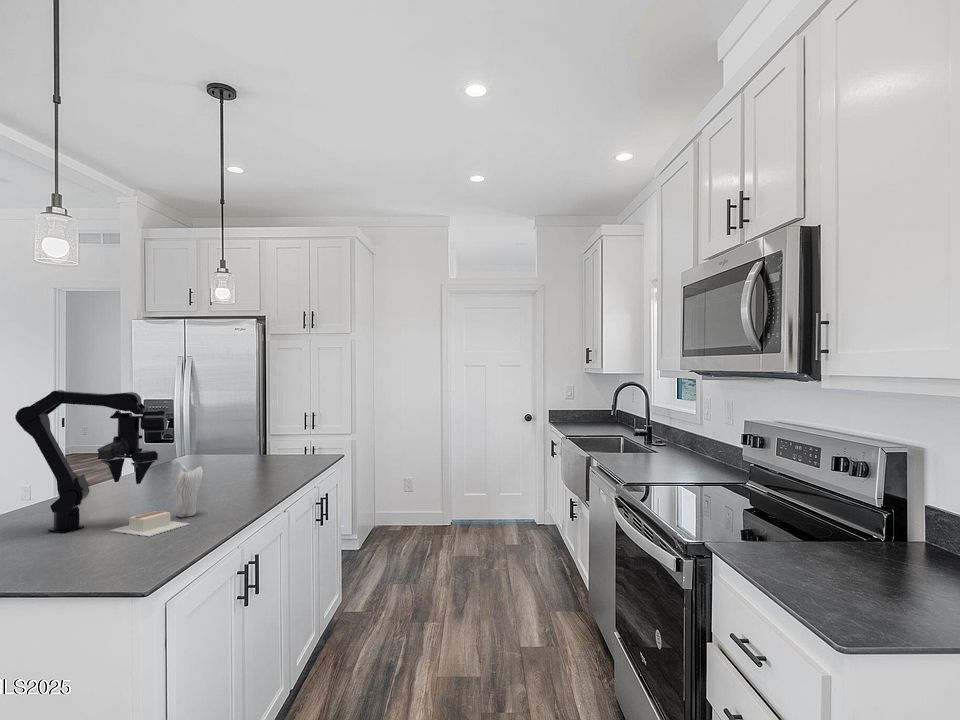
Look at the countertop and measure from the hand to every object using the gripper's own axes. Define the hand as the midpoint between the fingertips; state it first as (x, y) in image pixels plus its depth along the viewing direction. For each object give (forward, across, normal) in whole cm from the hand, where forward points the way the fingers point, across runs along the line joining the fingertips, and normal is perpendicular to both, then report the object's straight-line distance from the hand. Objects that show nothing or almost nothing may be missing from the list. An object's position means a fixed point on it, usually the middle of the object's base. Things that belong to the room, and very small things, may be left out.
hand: (127, 482), depth 174 cm
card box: (+13, +10, 0) cm, 16 cm away
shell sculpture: (+13, +8, +15) cm, 22 cm away
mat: (+13, +10, 0) cm, 16 cm away
